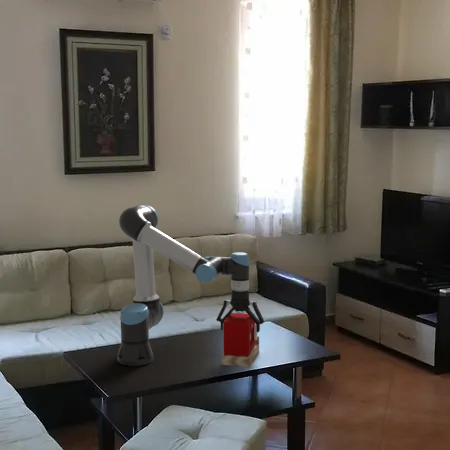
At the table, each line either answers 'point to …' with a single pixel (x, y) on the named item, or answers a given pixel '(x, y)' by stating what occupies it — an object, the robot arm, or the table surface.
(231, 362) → the wooden toy bed
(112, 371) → the table surface
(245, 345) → the fire alarm
